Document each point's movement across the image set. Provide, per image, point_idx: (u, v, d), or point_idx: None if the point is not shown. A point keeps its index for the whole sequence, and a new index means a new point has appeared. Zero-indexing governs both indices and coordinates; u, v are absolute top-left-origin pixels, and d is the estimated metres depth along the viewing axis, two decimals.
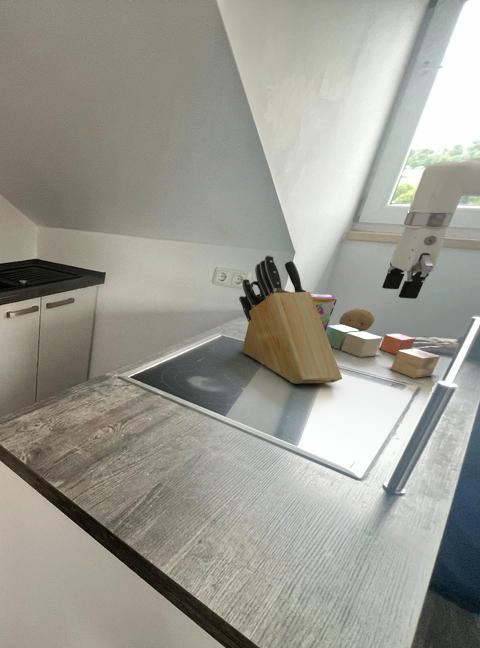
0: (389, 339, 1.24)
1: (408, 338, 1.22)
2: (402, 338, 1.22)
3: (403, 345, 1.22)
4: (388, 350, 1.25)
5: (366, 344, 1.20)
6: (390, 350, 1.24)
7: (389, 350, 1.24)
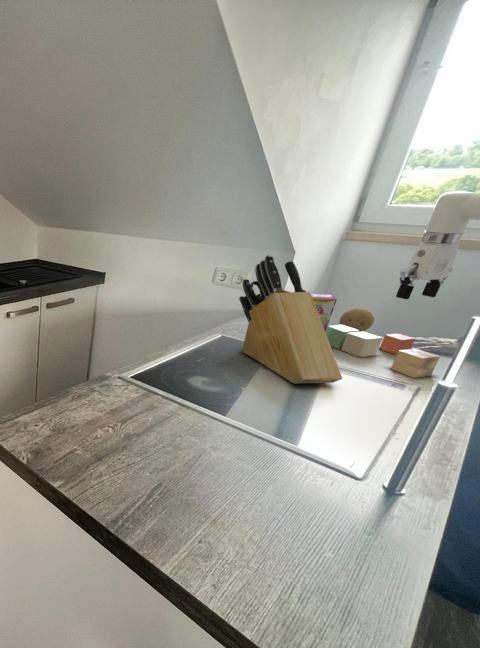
0: (389, 339, 1.24)
1: (408, 338, 1.22)
2: (402, 338, 1.22)
3: (403, 345, 1.22)
4: (388, 350, 1.25)
5: (366, 344, 1.20)
6: (390, 350, 1.24)
7: (389, 350, 1.24)
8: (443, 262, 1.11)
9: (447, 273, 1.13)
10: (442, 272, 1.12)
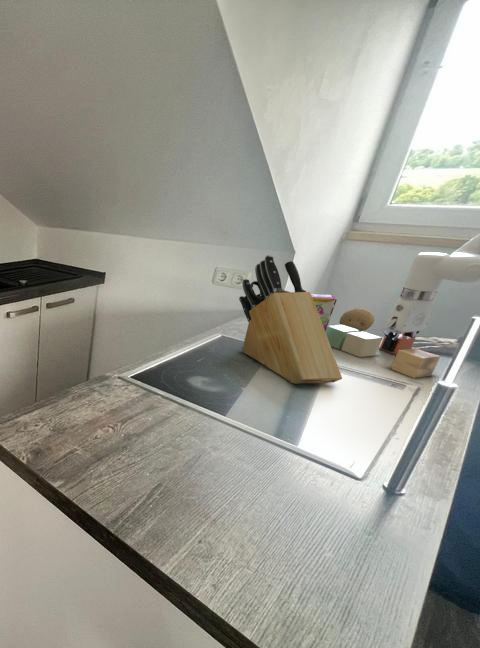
0: None
1: (408, 338, 1.22)
2: (402, 338, 1.22)
3: (403, 345, 1.22)
4: None
5: (366, 344, 1.20)
6: None
7: None
8: (420, 316, 1.18)
9: (425, 326, 1.20)
10: (420, 325, 1.19)
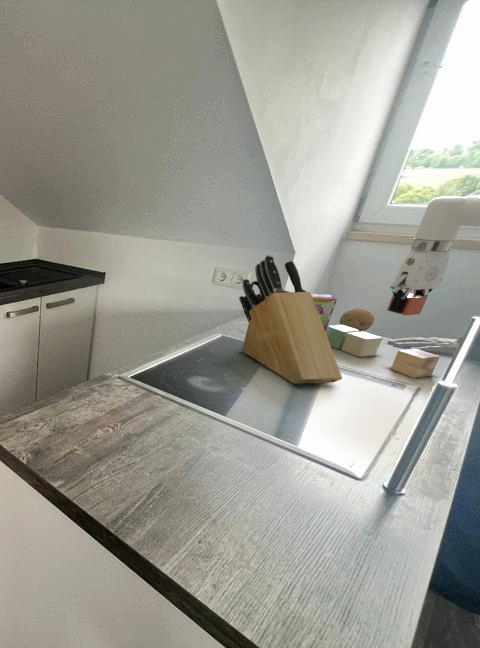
0: None
1: (419, 297, 1.09)
2: (412, 297, 1.09)
3: (414, 304, 1.09)
4: None
5: (366, 344, 1.20)
6: None
7: None
8: (434, 271, 1.05)
9: (438, 282, 1.07)
10: (433, 281, 1.06)
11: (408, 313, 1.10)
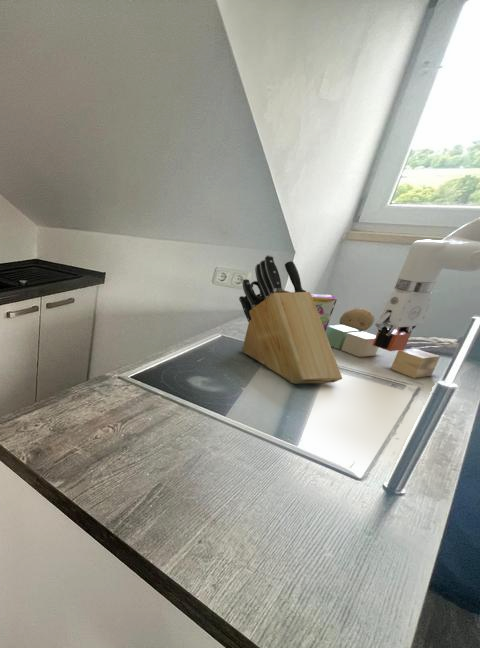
0: None
1: (403, 333, 1.13)
2: (396, 334, 1.13)
3: (398, 341, 1.13)
4: None
5: (366, 344, 1.20)
6: None
7: None
8: (416, 310, 1.09)
9: (421, 320, 1.11)
10: (416, 319, 1.10)
11: (392, 349, 1.14)
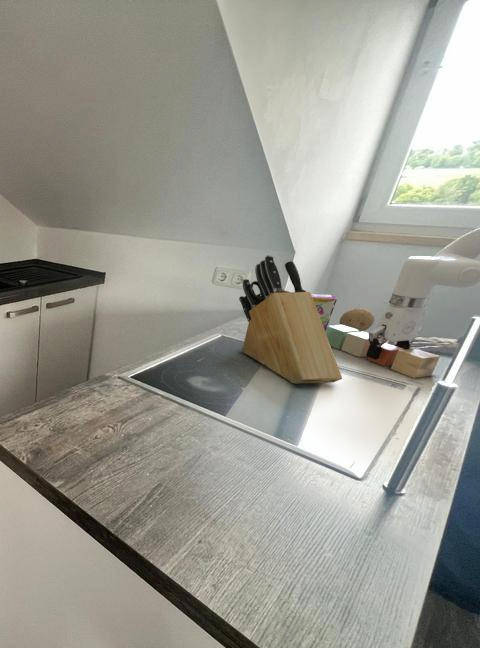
0: None
1: (397, 348, 1.15)
2: (390, 349, 1.14)
3: (392, 356, 1.15)
4: (376, 361, 1.17)
5: (366, 344, 1.20)
6: (378, 361, 1.17)
7: (377, 361, 1.17)
8: (411, 324, 1.10)
9: (416, 334, 1.12)
10: (410, 334, 1.12)
11: (386, 364, 1.15)
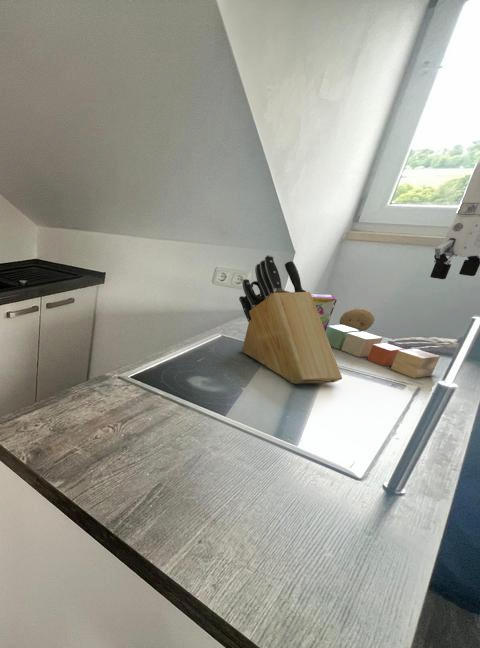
0: (377, 349, 1.17)
1: (397, 348, 1.15)
2: (390, 349, 1.14)
3: (392, 356, 1.15)
4: (376, 361, 1.17)
5: (366, 344, 1.20)
6: (378, 361, 1.17)
7: (377, 361, 1.17)
8: None
9: None
10: None
11: (386, 364, 1.15)
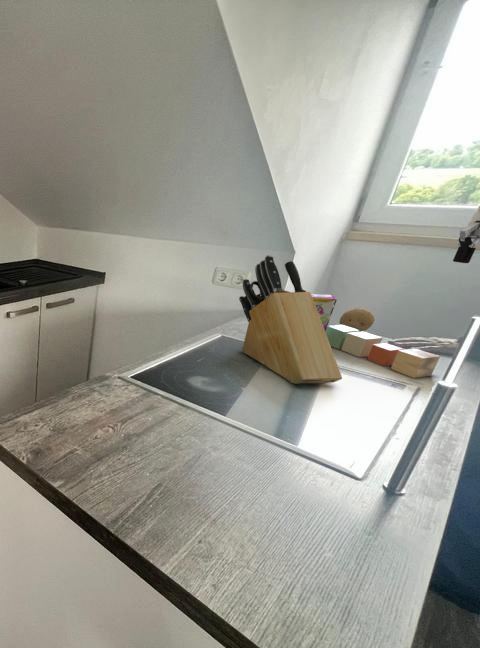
0: (377, 349, 1.17)
1: (397, 348, 1.15)
2: (390, 349, 1.14)
3: (392, 356, 1.15)
4: (376, 361, 1.17)
5: (366, 344, 1.20)
6: (378, 361, 1.17)
7: (377, 361, 1.17)
8: None
9: None
10: None
11: (386, 364, 1.15)
